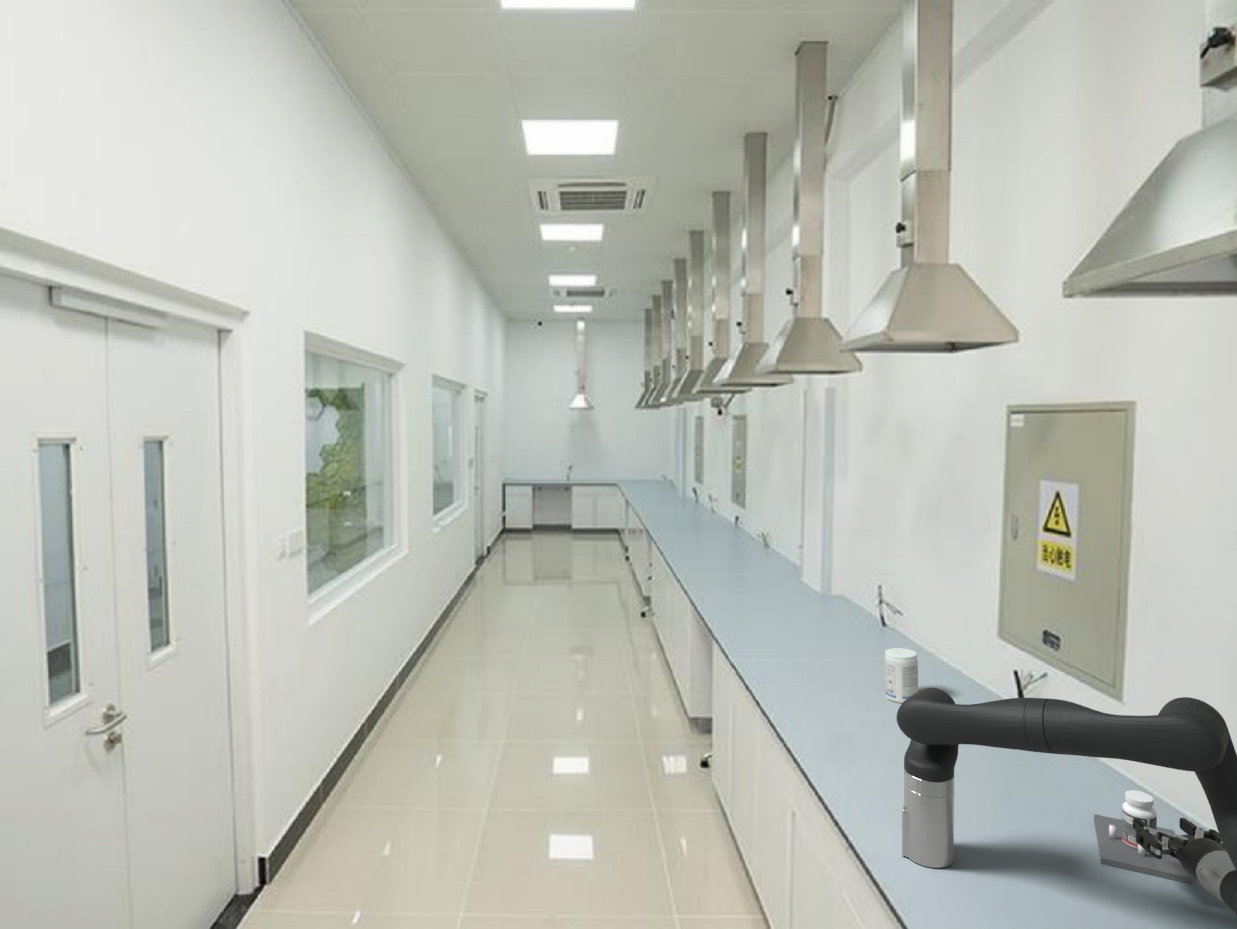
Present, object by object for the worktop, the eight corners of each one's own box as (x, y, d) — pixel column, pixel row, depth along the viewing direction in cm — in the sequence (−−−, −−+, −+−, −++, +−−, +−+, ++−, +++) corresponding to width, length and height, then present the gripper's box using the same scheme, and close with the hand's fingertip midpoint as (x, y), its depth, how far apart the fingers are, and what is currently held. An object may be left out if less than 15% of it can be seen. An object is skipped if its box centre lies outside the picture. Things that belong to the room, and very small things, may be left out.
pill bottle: (1142, 835, 152) (1143, 788, 152) (1163, 851, 146) (1164, 802, 146) (1114, 836, 152) (1115, 789, 151) (1134, 852, 146) (1135, 803, 146)
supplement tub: (918, 695, 234) (918, 649, 233) (917, 706, 225) (917, 658, 224) (885, 691, 238) (885, 646, 237) (883, 701, 229) (883, 655, 228)
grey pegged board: (1101, 863, 145) (1101, 845, 145) (1093, 819, 161) (1094, 802, 160) (1190, 883, 138) (1191, 864, 138) (1173, 835, 154) (1174, 818, 154)
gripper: (1265, 852, 126) (1197, 803, 143) (1177, 850, 127) (1120, 802, 144) (1263, 894, 127) (1196, 841, 143) (1176, 893, 128) (1119, 840, 144)
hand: (1158, 821), depth 143 cm, fingers open, 8 cm apart
